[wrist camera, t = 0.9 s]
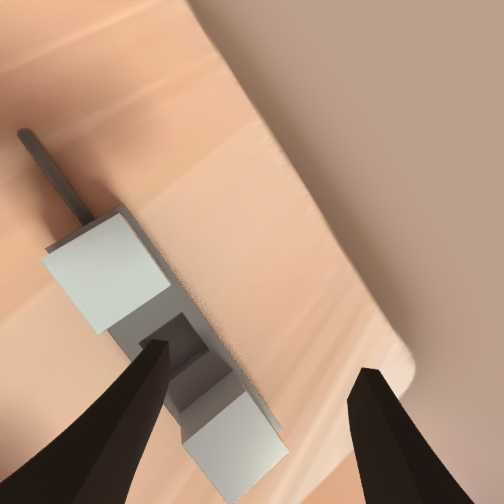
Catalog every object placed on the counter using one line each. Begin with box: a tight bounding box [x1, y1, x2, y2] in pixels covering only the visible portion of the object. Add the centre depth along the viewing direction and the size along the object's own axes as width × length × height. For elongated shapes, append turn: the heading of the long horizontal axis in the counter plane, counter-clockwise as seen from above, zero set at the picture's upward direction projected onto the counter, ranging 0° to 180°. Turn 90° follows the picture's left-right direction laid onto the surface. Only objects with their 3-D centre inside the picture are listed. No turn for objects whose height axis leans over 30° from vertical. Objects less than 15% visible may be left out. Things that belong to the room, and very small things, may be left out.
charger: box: [40, 213, 171, 335], centre depth 21 cm, size 5×5×6 cm
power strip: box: [17, 128, 289, 504], centre depth 21 cm, size 6×31×7 cm, turn 34°
